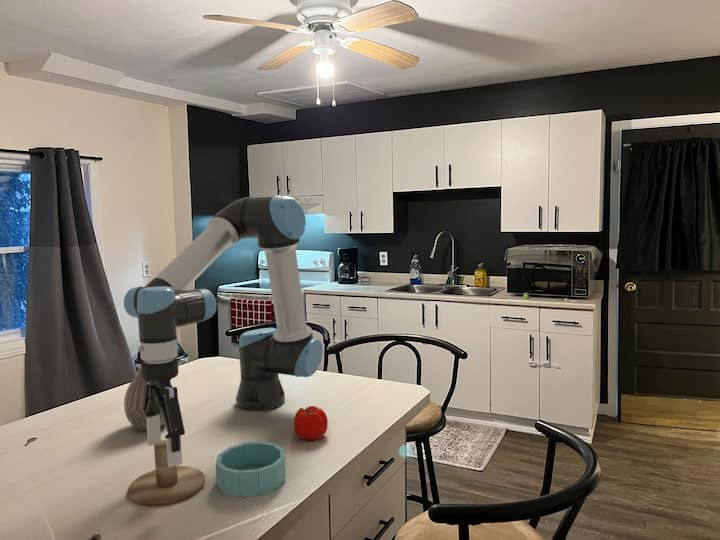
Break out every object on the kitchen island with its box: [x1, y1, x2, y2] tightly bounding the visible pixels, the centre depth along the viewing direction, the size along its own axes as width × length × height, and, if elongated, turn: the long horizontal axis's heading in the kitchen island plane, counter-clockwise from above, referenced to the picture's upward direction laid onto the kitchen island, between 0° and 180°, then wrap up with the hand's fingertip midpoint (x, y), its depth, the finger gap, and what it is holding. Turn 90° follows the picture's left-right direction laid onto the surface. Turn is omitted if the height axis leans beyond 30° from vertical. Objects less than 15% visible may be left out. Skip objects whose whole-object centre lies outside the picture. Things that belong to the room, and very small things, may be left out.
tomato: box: [293, 405, 329, 441], centre depth 148 cm, size 9×9×8 cm
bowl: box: [215, 441, 287, 498], centre depth 125 cm, size 15×15×6 cm
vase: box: [123, 365, 165, 432], centre depth 157 cm, size 13×13×18 cm
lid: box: [127, 439, 206, 507], centre depth 122 cm, size 16×16×10 cm
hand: (164, 454), depth 122 cm, fingers open, 13 cm apart
